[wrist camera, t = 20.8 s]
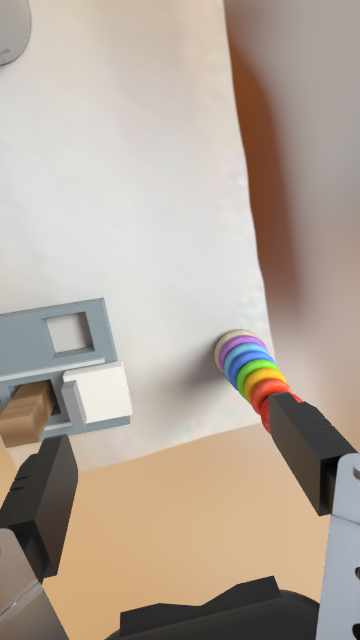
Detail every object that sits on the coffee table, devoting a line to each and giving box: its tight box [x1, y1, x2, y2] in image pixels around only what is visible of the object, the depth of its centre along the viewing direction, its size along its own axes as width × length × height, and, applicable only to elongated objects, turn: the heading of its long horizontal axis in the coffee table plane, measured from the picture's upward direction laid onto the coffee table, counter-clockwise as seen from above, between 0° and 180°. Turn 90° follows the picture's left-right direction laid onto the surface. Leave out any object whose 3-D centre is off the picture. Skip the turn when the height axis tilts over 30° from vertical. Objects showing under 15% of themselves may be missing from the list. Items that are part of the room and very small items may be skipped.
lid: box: [61, 361, 132, 430], centre depth 44 cm, size 8×8×4 cm
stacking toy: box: [214, 329, 303, 434], centre depth 40 cm, size 8×8×19 cm
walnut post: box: [0, 379, 56, 448], centre depth 43 cm, size 4×4×9 cm
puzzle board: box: [0, 298, 130, 441], centre depth 45 cm, size 20×17×3 cm
